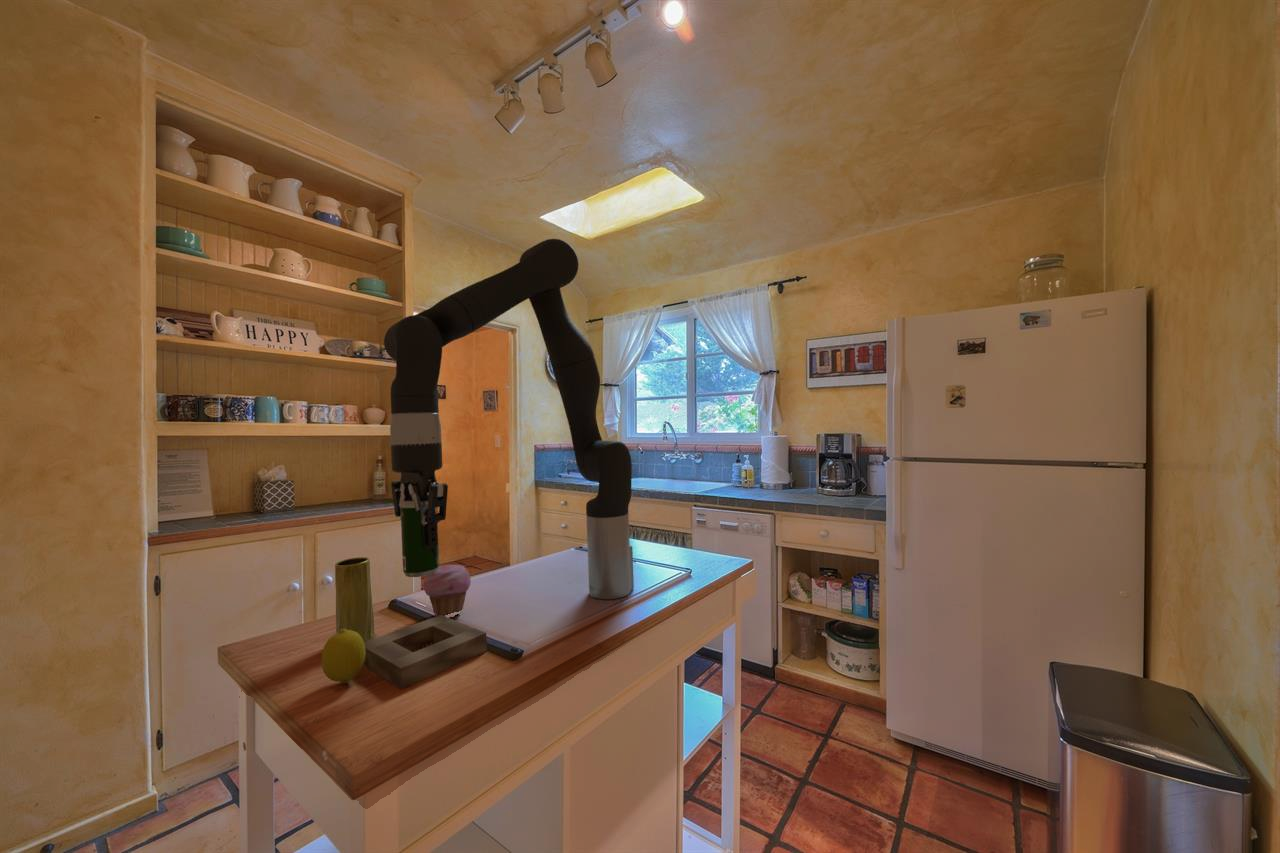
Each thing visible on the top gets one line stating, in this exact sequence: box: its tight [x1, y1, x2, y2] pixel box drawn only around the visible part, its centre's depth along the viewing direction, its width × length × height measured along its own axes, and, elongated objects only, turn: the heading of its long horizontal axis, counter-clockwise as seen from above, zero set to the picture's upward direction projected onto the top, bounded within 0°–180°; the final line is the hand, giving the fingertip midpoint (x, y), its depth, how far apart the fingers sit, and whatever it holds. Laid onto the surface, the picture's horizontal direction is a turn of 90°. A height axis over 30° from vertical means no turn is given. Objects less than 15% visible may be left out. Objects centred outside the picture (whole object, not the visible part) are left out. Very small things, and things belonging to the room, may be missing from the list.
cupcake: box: [422, 564, 472, 616], centre depth 96 cm, size 9×9×10 cm
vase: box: [334, 556, 376, 642], centre depth 85 cm, size 6×6×14 cm
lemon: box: [321, 629, 366, 685], centre depth 71 cm, size 6×6×8 cm
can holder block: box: [363, 615, 488, 690], centre depth 78 cm, size 14×14×3 cm
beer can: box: [400, 499, 440, 578], centre depth 78 cm, size 5×5×12 cm
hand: (420, 545), depth 78 cm, fingers closed on beer can, 5 cm apart
